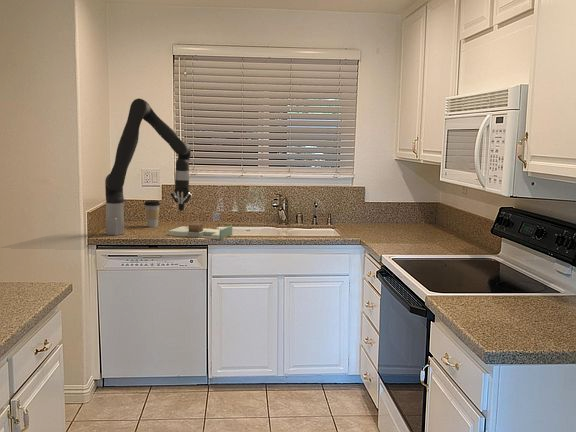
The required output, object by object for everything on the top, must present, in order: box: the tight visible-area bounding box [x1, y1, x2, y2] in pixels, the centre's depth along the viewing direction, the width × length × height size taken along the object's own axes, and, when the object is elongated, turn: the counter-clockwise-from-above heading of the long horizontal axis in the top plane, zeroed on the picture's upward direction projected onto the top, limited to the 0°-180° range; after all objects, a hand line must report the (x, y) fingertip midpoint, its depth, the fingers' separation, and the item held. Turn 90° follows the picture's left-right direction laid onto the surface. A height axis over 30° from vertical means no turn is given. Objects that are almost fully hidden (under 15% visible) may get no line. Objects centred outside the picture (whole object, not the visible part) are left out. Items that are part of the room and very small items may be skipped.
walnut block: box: [188, 222, 204, 232], centre depth 323 cm, size 6×6×4 cm
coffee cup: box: [143, 200, 161, 228], centre depth 350 cm, size 9×9×15 cm
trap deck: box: [168, 225, 233, 240], centre depth 327 cm, size 16×31×5 cm, turn 74°
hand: (181, 210), depth 323 cm, fingers closed
